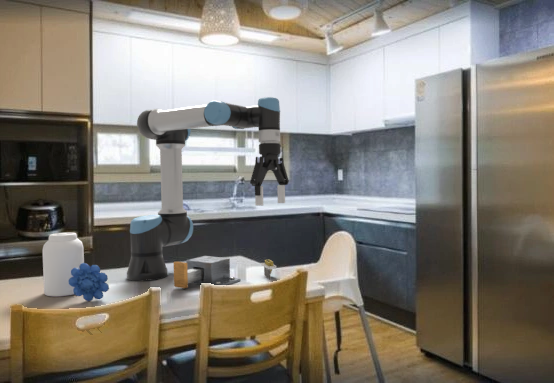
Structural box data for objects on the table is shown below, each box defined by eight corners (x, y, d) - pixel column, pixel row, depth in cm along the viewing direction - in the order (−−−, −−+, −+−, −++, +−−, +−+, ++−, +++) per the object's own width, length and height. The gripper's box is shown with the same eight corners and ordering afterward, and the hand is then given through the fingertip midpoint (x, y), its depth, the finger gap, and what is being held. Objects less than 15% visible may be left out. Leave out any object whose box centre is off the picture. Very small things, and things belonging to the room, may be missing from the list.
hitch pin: (174, 286, 151) (173, 262, 151) (205, 277, 164) (204, 255, 164) (184, 288, 149) (184, 263, 148) (215, 279, 161) (214, 256, 161)
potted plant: (277, 272, 177) (277, 256, 177) (292, 282, 160) (292, 264, 159) (248, 274, 173) (248, 258, 173) (260, 285, 156) (259, 266, 156)
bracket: (176, 281, 163) (176, 259, 162) (199, 275, 173) (199, 254, 172) (218, 287, 152) (218, 264, 151) (240, 280, 162) (239, 258, 161)
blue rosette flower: (66, 306, 133) (64, 266, 132) (70, 300, 139) (69, 262, 139) (107, 303, 135) (106, 264, 135) (110, 297, 142) (109, 260, 142)
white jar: (82, 295, 145) (80, 234, 145) (40, 298, 142) (37, 236, 141) (87, 286, 157) (85, 230, 157) (48, 289, 154) (46, 232, 153)
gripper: (257, 140, 141) (258, 206, 142) (297, 144, 162) (298, 202, 163) (238, 141, 146) (240, 206, 146) (280, 145, 166) (281, 202, 167)
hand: (270, 204), depth 155 cm, fingers open, 13 cm apart
